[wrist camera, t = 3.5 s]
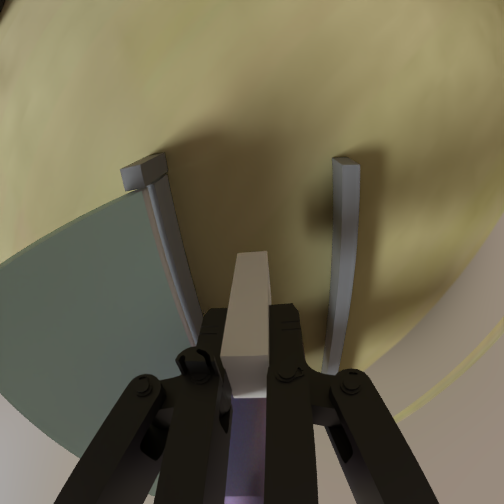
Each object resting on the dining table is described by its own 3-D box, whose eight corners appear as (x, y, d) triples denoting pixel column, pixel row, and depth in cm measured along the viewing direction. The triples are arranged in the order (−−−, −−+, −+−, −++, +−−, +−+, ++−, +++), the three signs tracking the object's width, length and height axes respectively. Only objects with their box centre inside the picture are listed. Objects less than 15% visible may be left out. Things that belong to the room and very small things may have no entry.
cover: (150, 187, 13) (141, 187, 14) (-59, 315, 4) (-57, 307, 5) (227, 416, 25) (220, 412, 25) (154, 496, 16) (147, 490, 16)
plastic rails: (147, 156, 15) (120, 169, 12) (347, 134, 14) (369, 141, 11) (221, 400, 28) (218, 426, 25) (326, 395, 27) (329, 421, 24)
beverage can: (223, 325, 22) (195, 510, 9) (295, 311, 21) (312, 511, 8) (245, 367, 24) (234, 517, 11) (307, 356, 23) (321, 514, 10)
